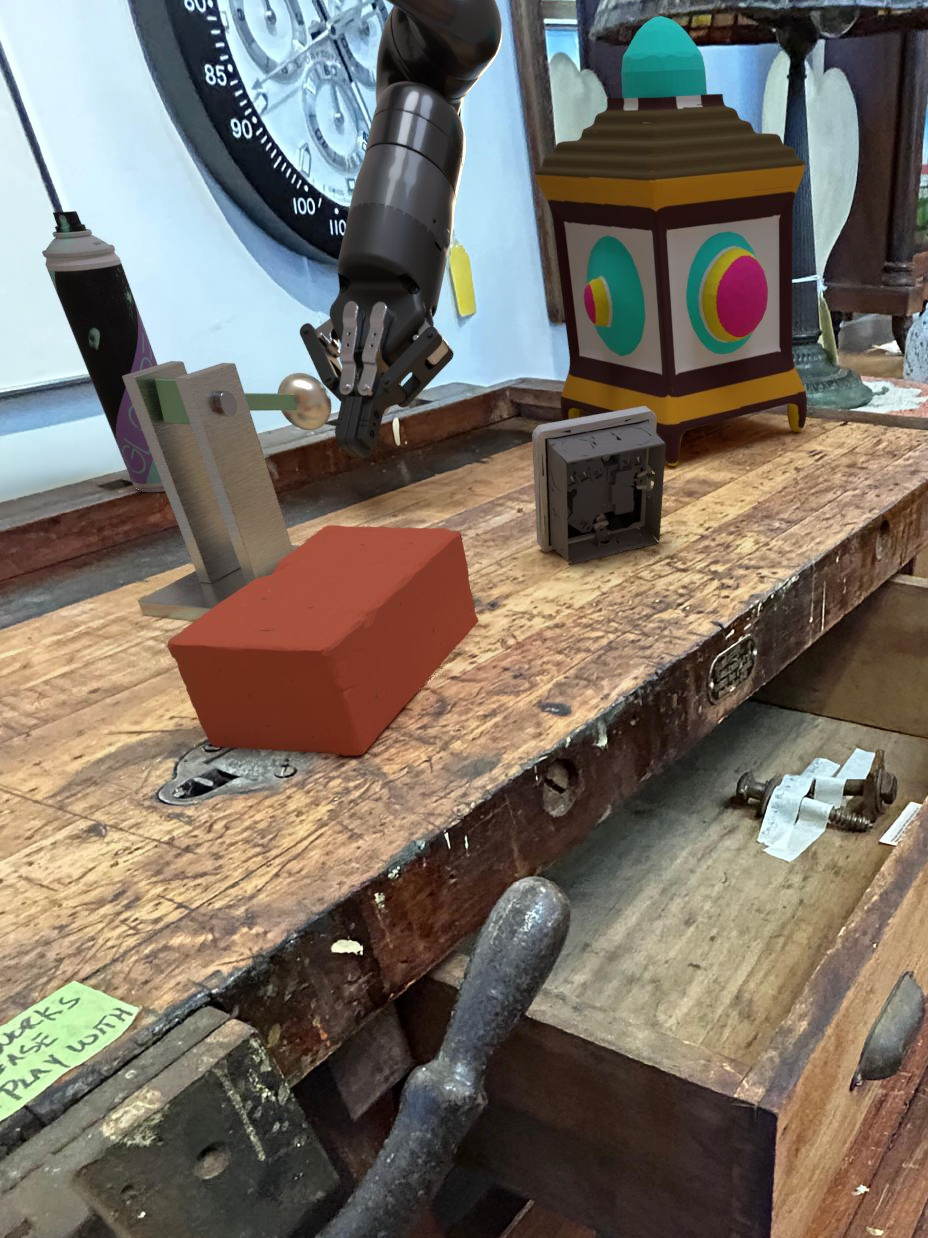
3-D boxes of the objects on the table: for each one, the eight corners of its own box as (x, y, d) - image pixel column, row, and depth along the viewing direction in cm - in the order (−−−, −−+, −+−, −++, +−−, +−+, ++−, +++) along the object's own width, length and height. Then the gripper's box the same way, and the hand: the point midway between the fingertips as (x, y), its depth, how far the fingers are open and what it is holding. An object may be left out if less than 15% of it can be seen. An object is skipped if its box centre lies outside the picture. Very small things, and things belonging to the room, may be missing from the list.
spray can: (144, 496, 91) (34, 216, 78) (127, 483, 94) (18, 212, 81) (206, 483, 93) (110, 209, 80) (187, 470, 97) (91, 205, 83)
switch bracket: (257, 557, 78) (186, 347, 69) (357, 566, 76) (298, 351, 67) (144, 618, 70) (46, 388, 60) (254, 631, 67) (170, 394, 58)
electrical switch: (646, 527, 80) (640, 397, 74) (679, 552, 77) (675, 419, 71) (536, 553, 77) (519, 419, 70) (566, 580, 74) (551, 443, 67)
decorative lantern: (544, 436, 102) (485, 23, 82) (696, 399, 111) (677, 22, 91) (669, 475, 90) (637, 7, 70) (827, 431, 100) (838, 7, 80)
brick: (362, 758, 54) (328, 649, 50) (207, 749, 55) (162, 642, 51) (481, 622, 67) (461, 527, 63) (353, 617, 69) (326, 524, 65)
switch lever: (304, 428, 77) (295, 372, 75) (345, 430, 76) (337, 374, 74) (157, 433, 65) (142, 367, 63) (203, 436, 64) (190, 369, 62)
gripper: (295, 199, 78) (248, 418, 78) (447, 197, 75) (399, 426, 74) (355, 272, 85) (312, 473, 85) (496, 274, 82) (452, 483, 81)
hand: (353, 451), depth 79 cm, fingers closed
